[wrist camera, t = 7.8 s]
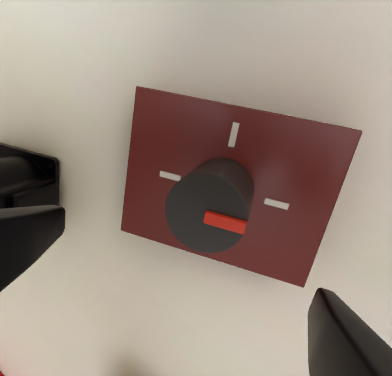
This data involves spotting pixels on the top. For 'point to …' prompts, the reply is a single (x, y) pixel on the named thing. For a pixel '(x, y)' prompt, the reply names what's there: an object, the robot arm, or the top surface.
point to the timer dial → (211, 205)
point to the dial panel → (253, 162)
